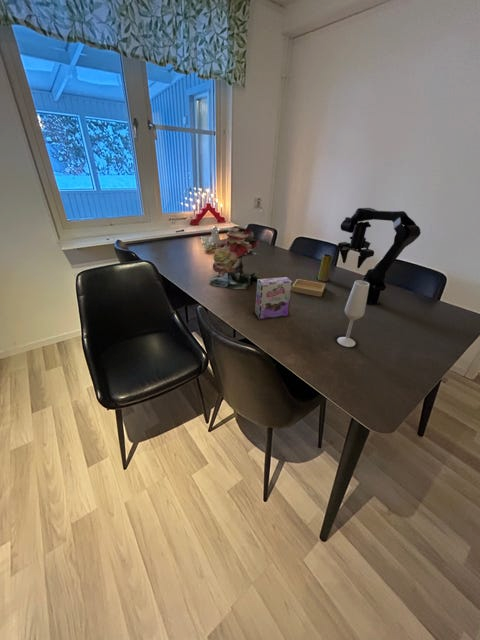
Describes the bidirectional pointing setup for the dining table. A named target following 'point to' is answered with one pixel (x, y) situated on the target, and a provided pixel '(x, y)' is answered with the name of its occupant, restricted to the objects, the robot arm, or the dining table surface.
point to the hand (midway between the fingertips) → (351, 265)
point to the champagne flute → (355, 308)
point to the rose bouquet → (234, 259)
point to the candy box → (273, 297)
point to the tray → (308, 287)
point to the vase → (325, 267)
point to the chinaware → (211, 239)
